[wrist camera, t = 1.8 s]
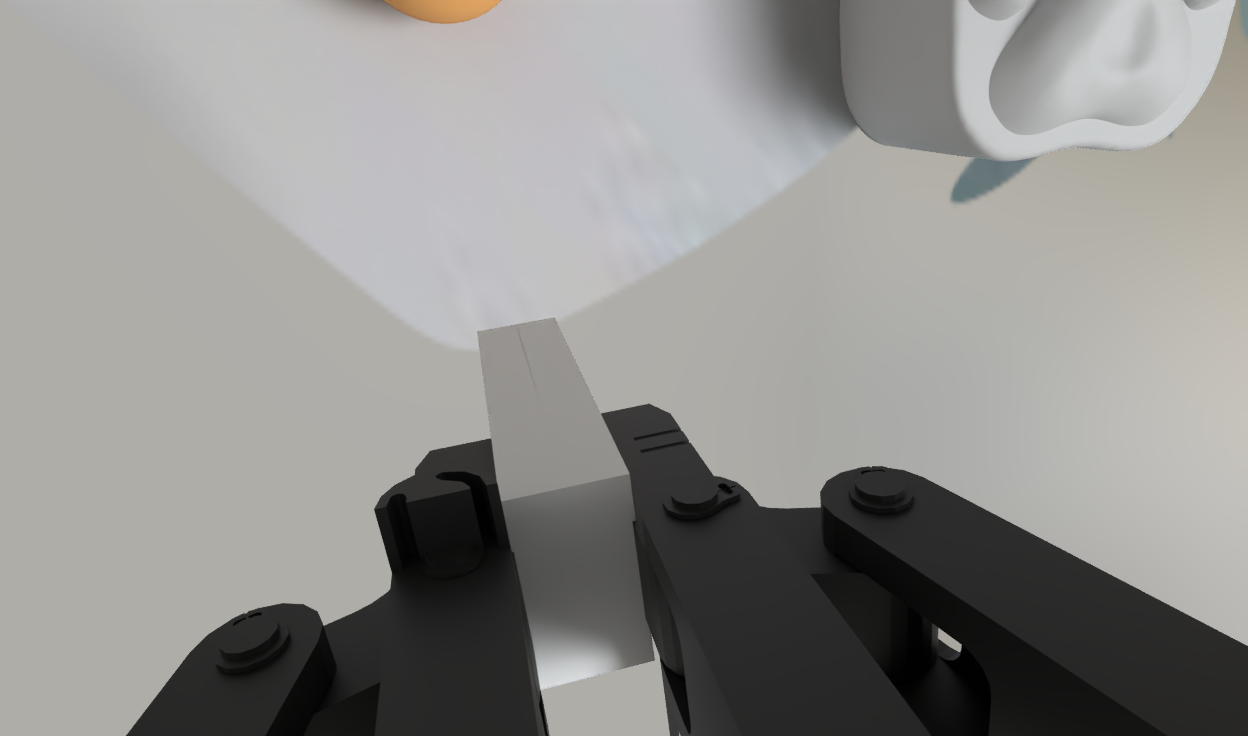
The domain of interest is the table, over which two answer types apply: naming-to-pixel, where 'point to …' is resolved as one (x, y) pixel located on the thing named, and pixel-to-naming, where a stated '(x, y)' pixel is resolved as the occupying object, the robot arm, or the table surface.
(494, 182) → the table surface
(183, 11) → the table surface
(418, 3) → the ball
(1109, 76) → the lumpy-topped squat cylinder
